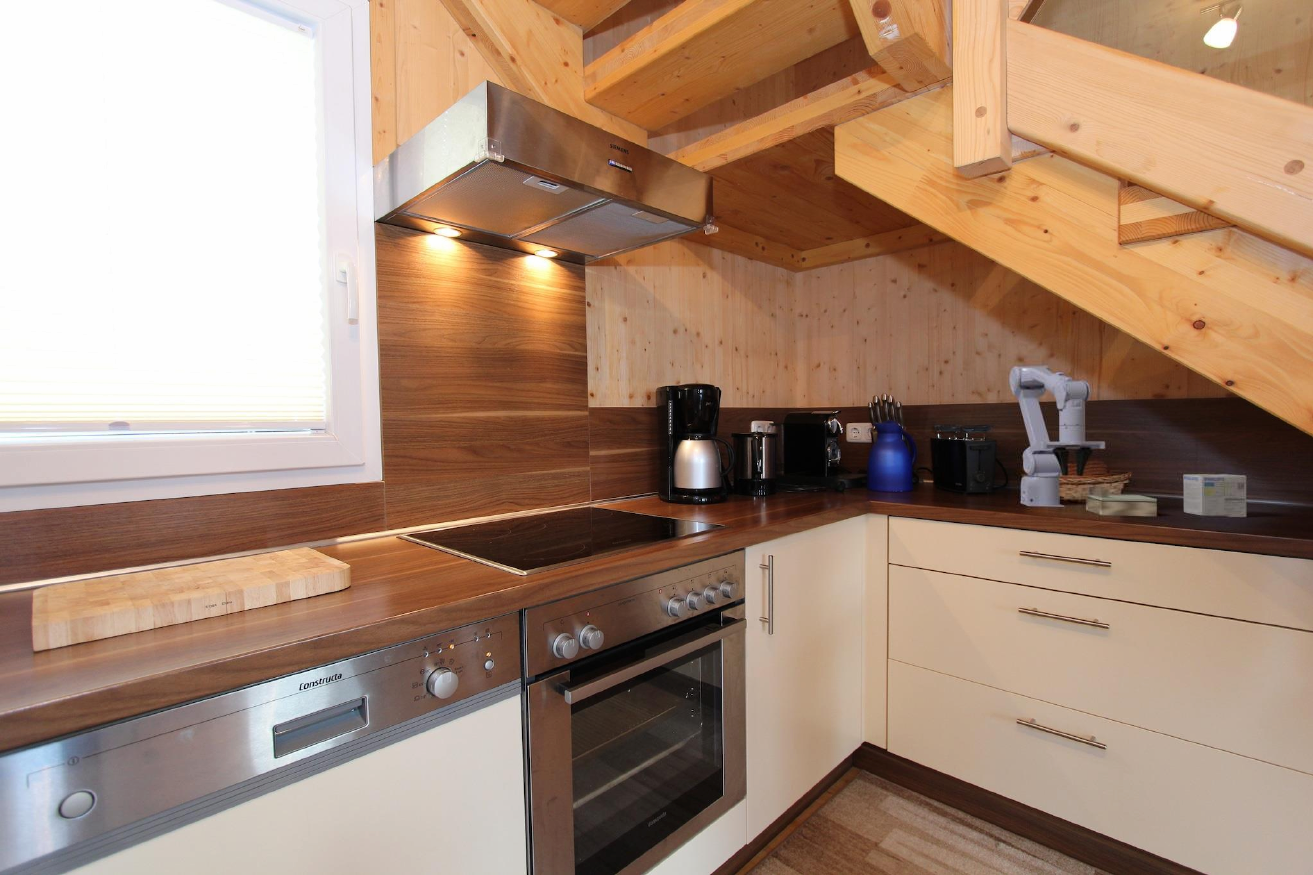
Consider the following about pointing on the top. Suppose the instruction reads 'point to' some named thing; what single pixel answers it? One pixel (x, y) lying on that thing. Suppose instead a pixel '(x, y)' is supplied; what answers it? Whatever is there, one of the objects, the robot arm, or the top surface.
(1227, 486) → the light bulb box
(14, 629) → the top surface
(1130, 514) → the pine box
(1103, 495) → the lid
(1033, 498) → the robot arm
